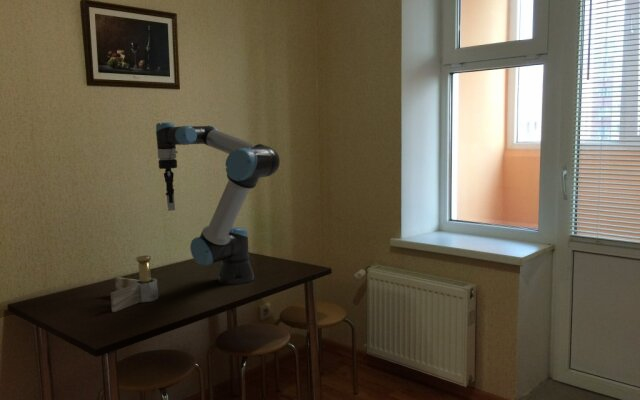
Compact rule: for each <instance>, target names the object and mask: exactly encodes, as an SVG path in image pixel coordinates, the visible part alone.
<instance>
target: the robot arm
mask: <svg viewBox="0 0 640 400" xmlns="http://www.w3.org/2000/svg"><path fill="white" fill-rule="evenodd" d="M155 134H156V136H155V137H156V147H157V159H158V168H159V169H160V170H164V172H163V177H164V182H165V185H166V187H165V189H166V191H165V196H166V203H167V204H166V205H167V209H168V211H169V212H171V211H176V206H175V189H174V177H175V176H174V172H173V171H172V169H177V168H178V160H177V159H176V158H177V154H178V152H179V151H178V150H176V149H177V148H176V146H177V145H178V146H180V145H181V146H182V145H183V146H186V145H187V146H188V145H205V146H208V147H210V148H214V149H216V150H219V151H221V152H223V153H225V154H228V155H227V157H226V159H225V167H226V168H225V171H226V172H225V173H226V177H227V179H228V181H227V183H226V185H225V188H224V190H223V193H222V195H221V197H220V199H219V202H218V204H217V206H216V208H215V211H214V213H213V216H212V217H211V220H210V222H209V225H207V226H205V227H204V228H203V229H202V232H201V234H200V236H197V237H195V238H193V239H192V240H191V242H190V244H189V245H190V248H189V249H190V252H191V256H192V258H193V260H194V261H195V262H196V263H197V264H199V265H200V266H208V265H212V264H215V263H218V262H221V266H220V270H219V274H218V283H220V284H222V285H242V284H246V283H250V282H251V281H253V280H254V279H255V274H254V271H253V268H252V265H251V262H250V258H249V257H250V256H249V255H250V253H249V236H248V230H247V229H246V228H245V227H240V226H234V224H235V222H236V219H237V217H238V215H239V213H240V211H241V208H242V207H243V204H244V202H245V199H246V198H247V196H248V193H249V191H250V190H252V189H255V188H256V186H257V184H258V182H259V180H260V178H267V177H270V176H272V175H274V174H275V173H277V171H278V169H279V167H280V163H281V162H280V161H281V160H280V156H279V154H278V152H277V150H275V149H274V148H273V147H270V146H267V145H265V144H262V143H257V144H255V143H252V142H250V141H246V140H243V139H241V138H238V137H236V136H233V135H230V134H227V133H225V132H222V131H220V130H219V129H217V127H216V126H213V125H199V126H198V125H197V126H196V125H195V126H193V125H192V126H191V125H180V126H175V123H174V122H158V123H156V124H155Z"/></svg>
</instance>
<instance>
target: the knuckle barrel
mask: <svg viewBox="0 0 640 400" xmlns="http://www.w3.org/2000/svg"><path fill="white" fill-rule="evenodd" d="M136 280H137V281H134V285H135V284H138V287H139V299H140V302H139V303H147V302H153V301H156V300H158V299H159V290H158V279H157V278H152V277H151V282H150V283H143V284H141V283H140V279H136Z"/></svg>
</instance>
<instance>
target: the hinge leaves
mask: <svg viewBox="0 0 640 400" xmlns="http://www.w3.org/2000/svg"><path fill="white" fill-rule="evenodd" d="M137 280H138V279H134V278H127V277H119V276H116V277H114V283H115V291H112V292H110V301H111V302H110V305H111V312H113V313H115V312H119V311H120V310H123V309H125V308H129V307H131V306H134V305H136V304H138V303H141V302H140V299H139V287H138V284H135V285H134V281H137Z"/></svg>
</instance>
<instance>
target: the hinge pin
mask: <svg viewBox="0 0 640 400" xmlns="http://www.w3.org/2000/svg"><path fill="white" fill-rule="evenodd" d="M151 257H152V256H151V255H141V256H140V255H139V256H137V257H135V259H136V262H137V263H138V274H139V280H140V283H141V284H143V283H150V282H151V278H152V276H151V265H150V264H151V263H150V261H151V260H152V259H151Z"/></svg>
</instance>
